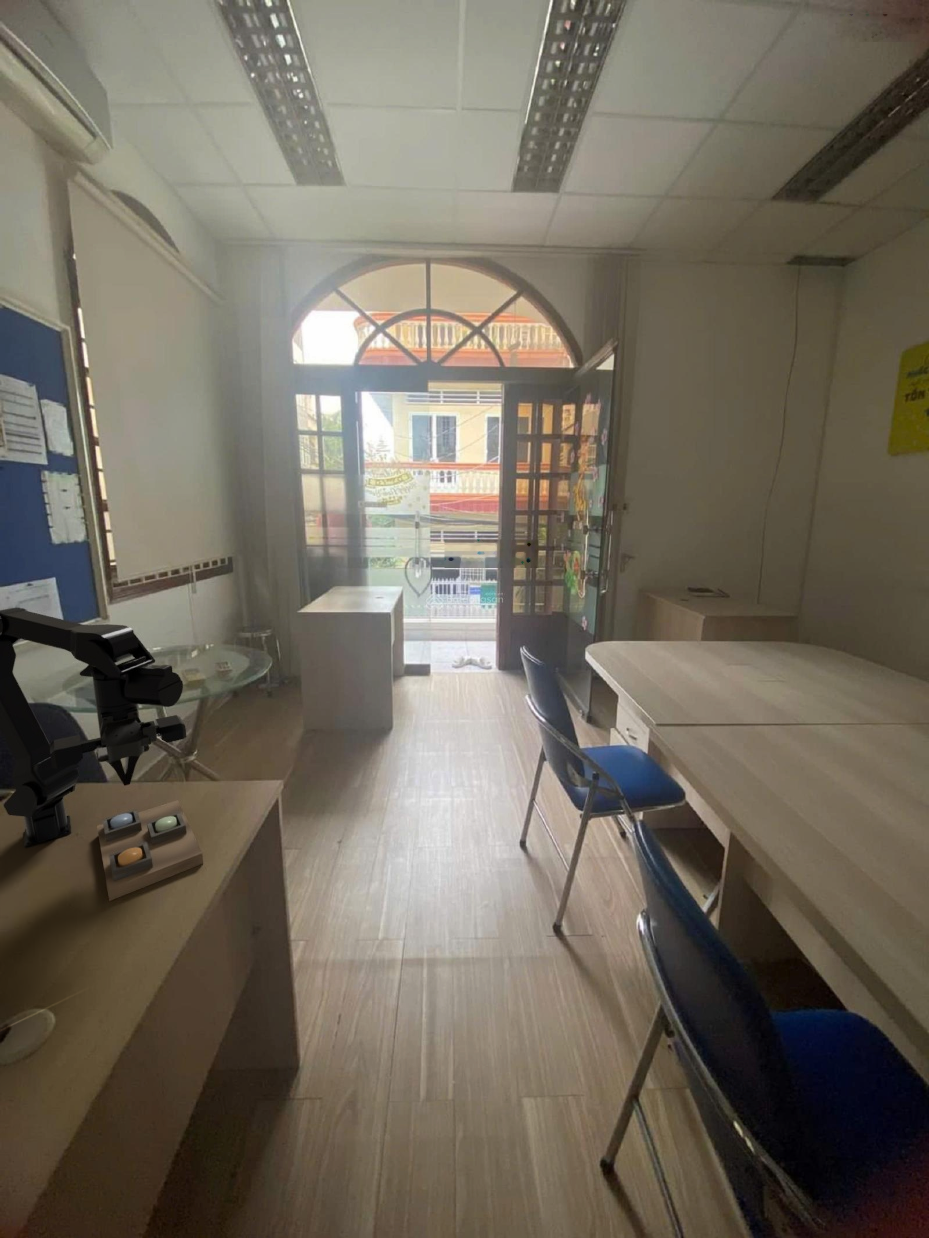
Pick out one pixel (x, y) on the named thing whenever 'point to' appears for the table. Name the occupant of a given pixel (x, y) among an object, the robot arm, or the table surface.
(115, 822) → the slate blue button
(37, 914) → the table surface
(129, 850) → the orange button
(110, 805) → the table surface
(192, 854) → the console
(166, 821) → the sage button
